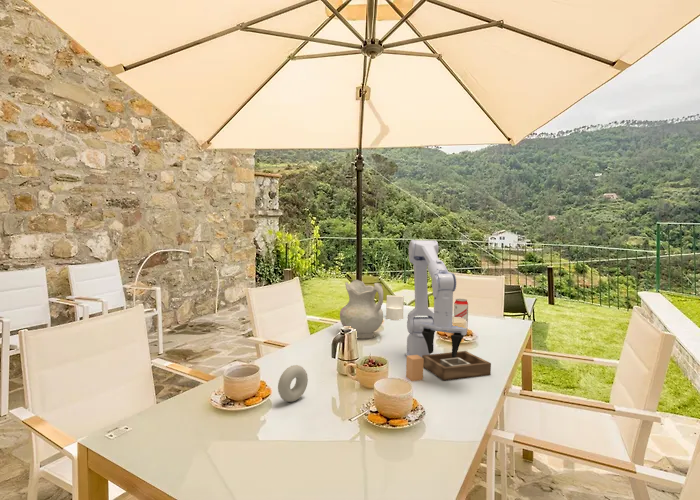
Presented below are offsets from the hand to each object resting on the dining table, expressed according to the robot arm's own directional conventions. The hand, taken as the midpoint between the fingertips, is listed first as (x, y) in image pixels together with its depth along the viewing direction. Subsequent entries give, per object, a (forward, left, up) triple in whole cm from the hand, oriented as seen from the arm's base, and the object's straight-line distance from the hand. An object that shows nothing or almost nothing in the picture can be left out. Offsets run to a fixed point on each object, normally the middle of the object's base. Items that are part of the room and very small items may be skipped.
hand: (442, 354), depth 130 cm
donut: (-1, -47, -9) cm, 48 cm away
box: (-8, +11, -9) cm, 16 cm away
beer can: (-48, +41, -9) cm, 64 cm away
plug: (-6, -6, -9) cm, 13 cm away
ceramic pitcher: (-58, -3, -9) cm, 59 cm away
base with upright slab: (-85, +26, -9) cm, 89 cm away
